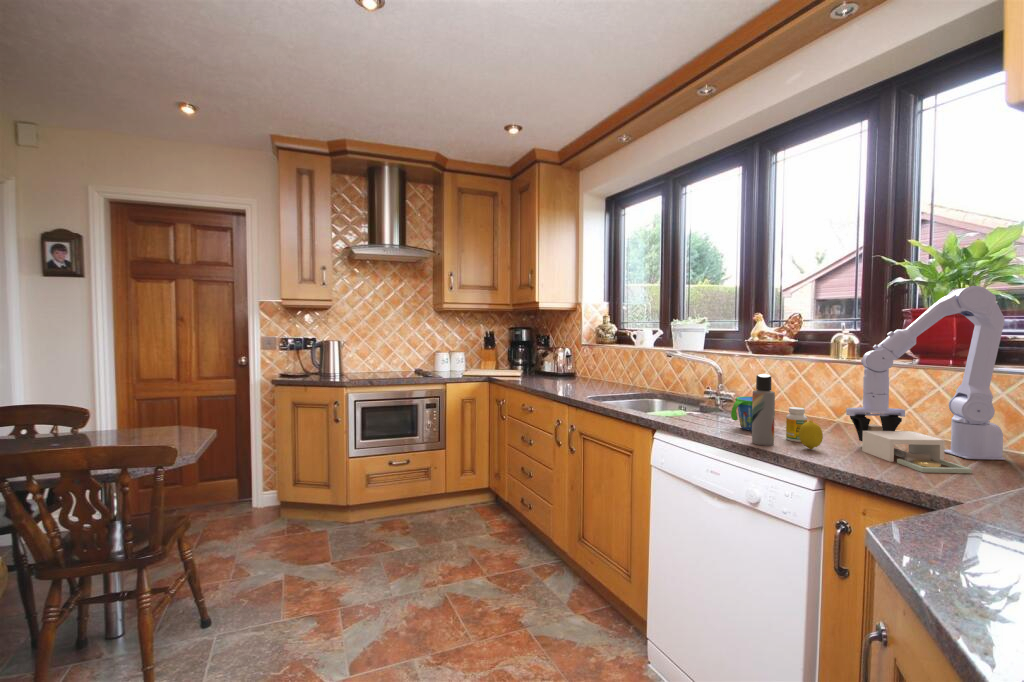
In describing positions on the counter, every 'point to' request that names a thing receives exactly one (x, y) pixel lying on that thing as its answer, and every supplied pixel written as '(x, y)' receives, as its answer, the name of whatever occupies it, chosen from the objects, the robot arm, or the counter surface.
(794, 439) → the supplement bottle
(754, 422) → the lotion bottle
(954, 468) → the tray
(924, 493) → the counter surface
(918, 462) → the token
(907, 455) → the push slider
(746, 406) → the snack cup
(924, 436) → the ivory tunnel cover
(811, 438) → the lemon
